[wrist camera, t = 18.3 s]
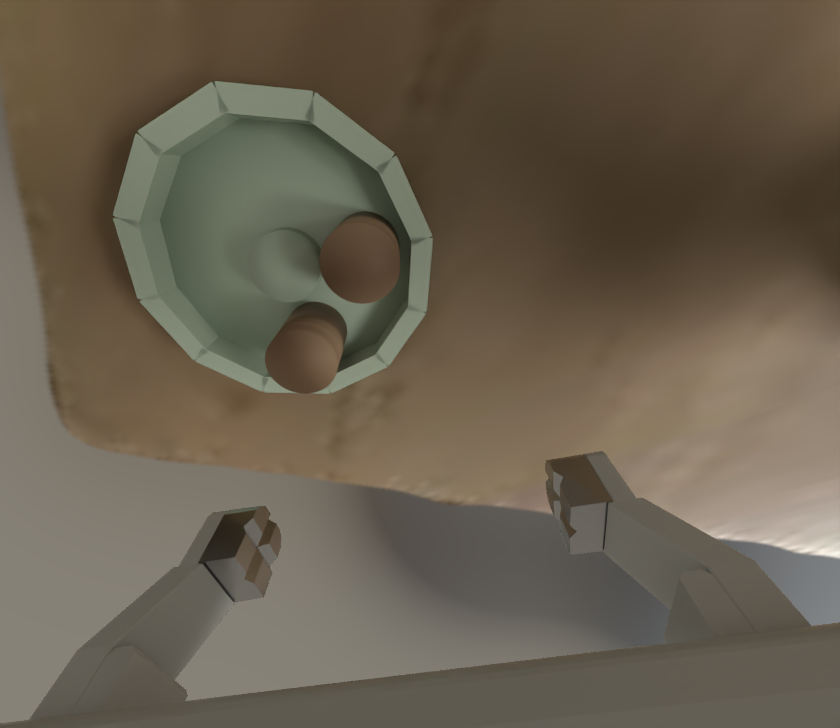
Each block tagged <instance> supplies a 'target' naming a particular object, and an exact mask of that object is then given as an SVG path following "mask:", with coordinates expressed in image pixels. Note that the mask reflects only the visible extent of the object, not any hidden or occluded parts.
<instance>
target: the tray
mask: <svg viewBox="0 0 840 728" xmlns="http://www.w3.org/2000/svg"><path fill="white" fill-rule="evenodd" d="M138 132H139V134H138V133H136V134H135V137H134V141H133V144H132V148H131V152H130V155H129V159H128V162H127V166H126V169H125V173H124V176H123V180H122V184H121V187H120V191H119V194H118V198H117V201H116V205H115V208H114V212H113V216H115V217H117V218H113V221H114V224H115V227H116V230H117V234H118V237H119V240H120V243H121V247H122V250H123V253H124V256H125V260H126V263H127V266H128V269H129V273H130V276H131V279H132V282H133V286H134V289H135V292H136V295H137V299H142V300H141V301H139V302H140V303H141V304H142V305H143V306H144V307H145V308H146V309H147V310H148V312H149V313H150V314H151V315H152V316H153V317H154V318H155V319H156V320H157V321H158V322H159V323H160V325H161V326H162V327H163V328H164V329H165V330H166V331H167V332H168V333H169V334H170V335H171V336H172V338H173V339H174V340H175V341H176V342H177V343H178V344H179V345H180V346H181V347H182V348H183V349H184V351H185V352H186V353H187V354H188V355H189V356H190V357H191V358H192V359H193V360H195V359H196V358H197V359H196V362H197V363H200V364H202V365H204V366H206V367H208V368H211V369H213V370H215V371H217V372H219V373H221V374H224V375H226V376H228V377H230V378H232V379H235V380H237V381H239V382H241V383H243V384H246V385H248V386H250V387H252V388H254V389H256V390H259V391H261V392H262V390H264V392H271V393H296V392H292V391H289V390H287V389H285V388H283V387H282V386H280V385H279V384H278V383H276V382H275V381H274V380H273V379H272V377H271V376H270V374H269V373H268V371H267V368H266V364H265V353H266V350H267V347H268V346H269V344H270V343H271V341H272V340H273V338H274V337H275V336H276V334H277V333H278V332H279V330H280V329H281V327H282V326H283V325H284V323H285V322H286V320H287V319H288V318H289V316H290V315H291V314H292V312H293V311H294V310H295V309H296V308H297V307H299V306H300V305H302V304H305V303H308V302H321V303H325V304H327V305H330V306H332V307H333V308H335V309H336V310H337V311H338V312H339V313H340V314H341V315H342V317H343V318H344V320H345V323H346V326H347V337H346V341H345V345H344V348H343V352H342V355H341V359H340V362H339V366H338V370H337V373H336V376H335V378H334V380H333V381H332V382H331V384H330V385H329V386H327V387H326V388H324V389H323V390H321V391H318V392H315V393H318V394H330V392H331V393H333V392H335V391H338V390H340V389H342V388H344V387H346V386H348V385H350V384H353V383H355V382H357V381H359V380H361V379H363V378H365V377H368V376H370V375H372V374H374V373H376V372H378V371H380V370H382V369H385V368H387V367H388V365H390V364H391V363H392V361H393V360H394V358H395V357H396V355H397V354H398V353H399V351H400V350H401V348H402V347H403V346H404V344H405V343H406V341H407V340H408V338H409V337H410V336H411V334H412V333H413V331H414V330H415V329H416V327H417V326H418V324H419V323H420V322H421V320H422V319H423V317H424V316H425V314H426V312H427V303H428V291H429V280H430V268H431V256H432V244H433V238H432V234H431V231H430V229H429V227H428V225H427V222H426V220H425V218H424V216H423V213H422V211H421V209H420V207H419V204H418V202H417V200H416V198H415V196H414V193H413V191H412V189H411V187H410V184H409V182H408V180H407V178H406V175H405V173H404V171H403V169H402V166H401V164H400V162H399V160H398V157H397V155H396V156H395V157H393V156H394V152H393V151H392V150H390V149H389V148H388V147H386V146H385V145H384V144H382V143H381V142H380V141H379V140H377V139H376V138H375V137H373V136H372V135H371V134H369V133H368V132H367V131H366V130H364V129H363V128H362V127H360V126H359V125H358V124H356V123H355V122H354V121H353V120H351V119H350V118H349V117H347V116H346V115H345V114H343V113H342V112H341V111H340V110H338V109H337V108H336V107H334V106H333V105H332V104H330V103H329V102H328V101H327V100H325V99H324V98H323V97H321V96H320V95H319V94H317V93H314V92H313V91H310V90H300V89H290V88H280V87H270V86H260V85H250V84H240V83H230V82H220V81H215V83H213V82H210V83H209V84H207V85H206V86H204V87H203V88H201V89H200V90H198V91H197V92H195V93H194V94H192V95H191V96H189V97H188V98H186V99H185V100H183V101H182V102H180V103H179V104H177V105H176V106H174V107H173V108H171V109H170V110H168V111H166V112H165V113H163V114H162V115H160V116H159V117H157V118H156V119H154V120H153V121H151V122H150V123H148V124H147V125H145V126H144V127H142V128H141V129H139V130H138ZM363 211H367V212H373V213H376V214H379V215H380V216H382V217H384V218H385V219H386V220H387V221H389V223H390V224H391V225H392V226H393V228H394V229H395V231H396V234H397V236H398V241H399V254H400V273H399V277H398V280H397V282H396V284H395V286H394V288H393V289H392V290H391V291H390V293H388V294H387V295H386V296H385V297H383V298H382V299H380V300H378V301H375V302H372V303H366V304H359V303H353V302H349V301H347V300H344V299H342V298H341V297H339V296H338V295H336V294H335V293H334V292H333V291H332V290H331V289H330V288H329V287H328V285H327V284H326V282H325V281H324V279H323V276H322V274H321V270H320V263H319V258H320V251H321V248H322V245H323V243H324V241H325V240H326V238H327V237H328V236H329V235H330V234H331V233H332V232H333V230H334V229H335V228H336V227H337V226H338V225H339V224H340V223H341V222H342V221H343V220H344V219H345V218H346V217H348V216H349V215H351V214H354V213H356V212H363Z"/></svg>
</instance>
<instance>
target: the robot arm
mask: <svg viewBox="0 0 840 728" xmlns="http://www.w3.org/2000/svg"><path fill="white" fill-rule="evenodd" d="M545 471H546V473H547V475H548V478H549V479H548V480H547V481H546V491H547V496H548V501H549V504H550V507H551V510H552V513H553V515H554V517H555V518H557V519H558V520H559V521H560V532H561V534H562V537H563V539H564V541H565V544H566V546H567V548H568V551H569V553H570V555H571V554H580V553H589V552H597V551H604V553H605V554H606V555H607V556H609V557H610V558H611V559H612V560H613V561H614V562H615V563H617V564H618V565H619V566H620V567H621V568H622V569H624V570H625V571H626V572H627V573H628V574H629V575H630V576H632V577H633V578H634V579H635V580H636V581H637V582H639V583H640V584H641V585H642V586H643V587H644V588H646V589H647V590H648V591H649V592H650V593H651V594H652V595H654V596H655V597H656V598H657V599H658V600H659V601H661V602H662V603H663V604H664V605H665V606H666V607H668V608H669V609H670V610H671V611H670V615H669V618H668V622H667V626H666V629H665V633H664V637H663V638H664V640H665V642H666V644H657V645H649V646H641V647H633V648H624V649H616V650H608V651H600V652H591V653H583V654H575V655H566V656H557V657H549V658H541V659H532V660H525V661H516V662H508V663H499V664H490V665H482V666H474V667H466V668H457V669H449V670H440V671H432V672H424V673H415V674H407V675H399V676H391V677H382V678H374V679H365V680H357V681H349V682H340V683H333V684H323V685H315V686H307V687H298V688H291V689H282V690H274V691H265V692H257V693H248V694H241V695H232V696H223V697H215V698H207V699H199V700H191V701H185V700H186V698H187V696H188V695H187V692H186V689H184V688H183V687H182V686H181V685H180V684H179V683H177V682H176V681H175V679H176V677H177V676H178V675H179V673H180V672H181V671H182V670H183V668H184V667H185V666H186V665H187V664H188V662H189V661H190V659H191V658H192V657H193V656H194V655H195V653H196V652H197V651H198V650H199V648H200V647H201V646H202V645H203V643H204V642H205V641H206V640H207V638H208V637H209V636H210V634H211V633H212V632H213V631H214V630H215V628H216V627H217V626H218V624H219V623H220V622H221V621H222V619H223V618H224V617H225V616H226V614H227V613H228V612H229V611H230V609H231V608H232V607H233V606H234V602H239V601H245V600H250V599H257V598H262V597H264V595H265V593H266V589H267V587H268V584H269V581H270V578H271V575H272V571H271V569H270V565H271V564H272V563H273V562H274V561H275V560H276V559H277V557H278V555H279V551H280V548H281V533H280V530H279V528H278V526H277V524H276V523H274V522H272V521H270V520H269V516H270V512H269V511H268V509H267V508H266V506H258V507H250V508H242V509H235V510H229V511H222V512H214V513H212V514H211V515H210V516H208V518H207V519H206V521H205V523H204V525H203V526H202V528H201V530H200V531H199V533H198V535H197V536H196V538H195V540H194V541H193V543H192V545H191V546H190V548H189V550H188V552H187V553H186V555H185V557H184V558H183V560H182V562H181V564H180V565H179V567H174V568H172V569H171V570H170V571H169V572H168V573H166V574H165V575H164V576H163V577H162V578H161V579H159V580H158V581H157V582H156V583H155V584H154V585H153V586H151V587H150V588H149V589H148V590H147V591H146V592H144V593H143V594H142V595H141V596H140V597H139V598H137V599H136V600H135V601H134V602H133V603H132V604H130V605H129V606H128V607H127V608H126V609H125V610H123V611H122V612H121V613H120V614H119V615H118V616H117V617H115V618H114V619H113V620H112V621H111V622H110V623H108V624H107V625H106V626H105V627H104V628H103V629H101V630H100V631H99V632H98V633H97V634H96V635H95V636H93V637H92V638H91V639H90V640H89V641H88V642H87V643H85V644H84V645H83V646H82V647H81V648H80V649H79V650H77V651H76V653H75V654H74V656H73V657H72V659H71V660H70V662H69V663H68V664H67V666H66V667H65V669H64V670H63V672H62V673H61V674H60V676H59V677H58V679H57V680H56V682H55V683H54V685H53V686H52V687H51V689H50V690H49V692H48V693H47V695H46V696H45V697H44V699H43V700H42V702H41V703H40V705H39V706H38V708H37V709H36V710H35V712H34V713H33V715H32V716H31V718H30V719H29V720H24V721H16V722H8V723H0V728H840V623H832V624H823V625H815V626H811V625H810V624H809V622H808V621H807V620H806V619H805V618H804V617H803V616H802V615H801V613H800V612H799V611H798V610H797V609H796V608H795V607H794V605H793V604H792V603H791V602H790V601H789V600H788V599H787V597H786V596H785V595H784V594H783V593H782V592H781V591H780V589H779V588H778V587H777V586H776V585H775V584H774V583H773V581H772V580H771V579H770V578H769V577H768V576H767V575H766V573H765V572H764V571H763V570H762V569H761V568H760V567H759V566H758V564H757V563H756V562H755V561H754V560H752V559H750V558H748V557H747V556H745V555H743V554H741V553H739V552H738V551H736V550H734V549H733V548H731V547H729V546H727V545H725V544H724V543H722V542H720V541H718V540H717V539H715V538H713V537H711V536H710V535H708V534H706V533H704V532H702V531H701V530H699V529H697V528H695V527H694V526H692V525H690V524H688V523H686V522H685V521H683V520H681V519H679V518H678V517H676V516H674V515H672V514H671V513H669V512H667V511H665V510H663V509H662V508H660V507H658V506H656V505H655V504H653V503H651V502H649V501H647V500H646V499H644V498H636V497H635V495H634V494H633V492H632V491H631V490H630V488H629V487H628V485H627V484H626V482H625V481H624V480H623V478H622V477H621V475H620V474H619V472H618V471H617V470H616V468H615V467H614V465H613V464H612V462H611V461H610V460H609V458H608V457H607V455H606V454H605V453H604V452H602V451H600V452H594V453H588V454H583V455H575V456H569V457H563V458H558V459H552V460H546V463H545Z"/></svg>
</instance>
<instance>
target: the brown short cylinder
mask: <svg viewBox="0 0 840 728" xmlns="http://www.w3.org/2000/svg"><path fill="white" fill-rule="evenodd" d="M346 337H347V326H346V323H345V320H344V318H343V317H342V315H341V314H340V313H339V312H338V311H337V310H336V309H335V308H333V307H332V306H330V305H327V304H325V303H321V302H308V303H305V304H302V305H300V306H299V307H297V308H296V309H295V310H294V311H293V312H292V314H291V315H290V316H289V318H288V319H287V320H286V322H285V323H284V325H283V326H282V327H281V329H280V330H279V332H278V333H277V334H276V336H275V337H274V338H273V340H272V341H271V343H270V344H269V346H268V347H267V350H266V353H265V364H266V368H267V371H268V373H269V374H270V376H271V377H272V379H273V380H274V381H275V382H276V383H278V384H279V385H280V386H282V387H283V388H285V389H287V390H289V391H292V392H296V393H303V394H308V393H315V392H318V391H321V390H323V389H324V388H326V387H327V386H329V385H330V384H331V382H332V381H333V380H334V378H335V376H336V373H337V370H338V366H339V362H340V359H341V355H342V352H343V348H344V345H345V341H346Z"/></svg>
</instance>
